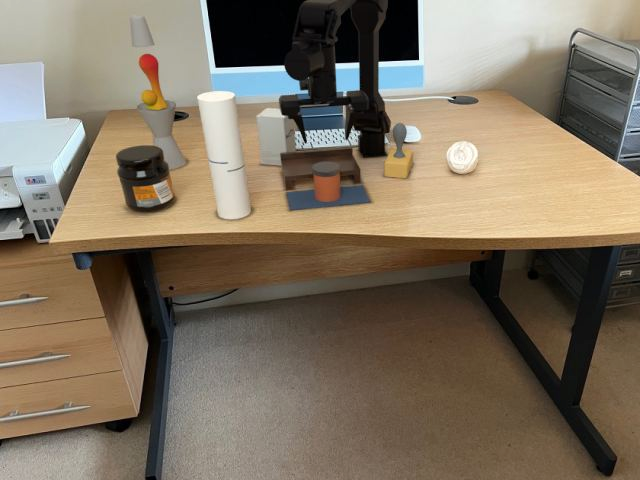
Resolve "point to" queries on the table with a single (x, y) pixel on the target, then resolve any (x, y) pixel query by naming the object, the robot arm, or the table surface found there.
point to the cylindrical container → (225, 153)
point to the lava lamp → (155, 98)
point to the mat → (308, 201)
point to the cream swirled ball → (462, 157)
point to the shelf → (302, 162)
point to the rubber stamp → (398, 155)
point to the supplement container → (145, 178)
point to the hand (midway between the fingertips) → (326, 141)
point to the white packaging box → (274, 135)
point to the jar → (326, 181)
